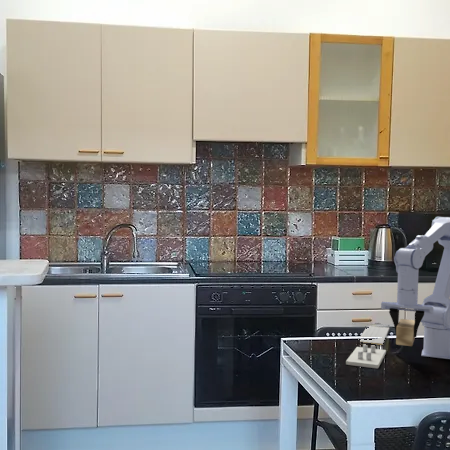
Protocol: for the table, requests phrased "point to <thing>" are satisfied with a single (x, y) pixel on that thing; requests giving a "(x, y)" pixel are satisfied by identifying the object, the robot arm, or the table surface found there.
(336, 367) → the table surface
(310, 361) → the table surface
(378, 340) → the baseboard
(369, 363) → the peg rack
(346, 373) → the table surface
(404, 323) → the tan block
